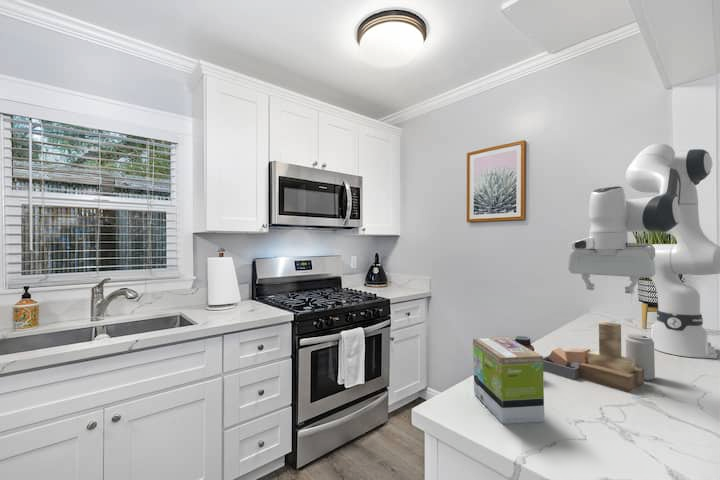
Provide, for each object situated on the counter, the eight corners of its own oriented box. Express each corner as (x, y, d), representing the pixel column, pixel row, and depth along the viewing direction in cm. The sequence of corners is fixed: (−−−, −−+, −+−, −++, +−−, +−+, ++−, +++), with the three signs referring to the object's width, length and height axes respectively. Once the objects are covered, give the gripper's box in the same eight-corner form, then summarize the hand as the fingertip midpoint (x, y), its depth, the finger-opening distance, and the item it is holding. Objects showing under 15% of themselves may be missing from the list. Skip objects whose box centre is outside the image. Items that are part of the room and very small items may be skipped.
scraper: (587, 362, 98) (587, 321, 98) (593, 360, 101) (592, 320, 101) (629, 373, 90) (628, 328, 90) (634, 370, 92) (634, 326, 93)
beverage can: (660, 382, 94) (659, 339, 94) (634, 380, 95) (633, 338, 95) (646, 373, 100) (645, 333, 100) (621, 372, 101) (620, 332, 102)
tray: (562, 359, 113) (562, 350, 113) (598, 368, 105) (597, 358, 105) (537, 369, 104) (537, 359, 104) (574, 380, 96) (574, 369, 96)
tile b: (574, 358, 105) (572, 348, 105) (592, 359, 101) (589, 349, 101) (567, 361, 102) (564, 351, 102) (585, 362, 98) (582, 352, 98)
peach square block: (575, 358, 105) (570, 365, 106) (559, 347, 108) (555, 354, 110) (567, 361, 102) (562, 369, 103) (552, 350, 106) (547, 357, 107)
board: (594, 370, 103) (594, 357, 103) (643, 383, 93) (643, 368, 93) (578, 378, 97) (578, 364, 97) (629, 392, 87) (629, 377, 87)
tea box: (472, 394, 87) (471, 337, 87) (509, 393, 87) (508, 336, 88) (501, 425, 72) (501, 356, 72) (546, 423, 72) (545, 354, 73)
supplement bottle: (534, 374, 100) (534, 336, 100) (535, 381, 95) (535, 341, 95) (512, 371, 103) (512, 334, 103) (512, 378, 97) (512, 338, 97)
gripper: (658, 242, 89) (660, 294, 89) (574, 243, 106) (575, 287, 106) (651, 242, 86) (652, 296, 85) (565, 243, 102) (566, 288, 102)
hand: (609, 291), depth 96 cm, fingers open, 8 cm apart
